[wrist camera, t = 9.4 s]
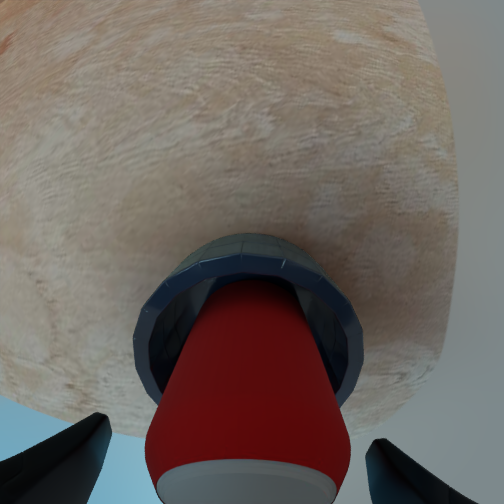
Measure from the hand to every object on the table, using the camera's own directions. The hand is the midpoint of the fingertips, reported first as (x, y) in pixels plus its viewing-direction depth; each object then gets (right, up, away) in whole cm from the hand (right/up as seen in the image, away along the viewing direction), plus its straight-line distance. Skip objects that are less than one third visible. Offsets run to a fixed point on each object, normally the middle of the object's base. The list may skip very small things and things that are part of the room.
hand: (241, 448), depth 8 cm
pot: (0, +2, +10) cm, 10 cm away
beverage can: (0, +2, +9) cm, 10 cm away
